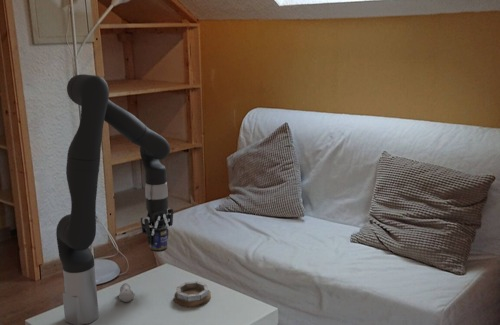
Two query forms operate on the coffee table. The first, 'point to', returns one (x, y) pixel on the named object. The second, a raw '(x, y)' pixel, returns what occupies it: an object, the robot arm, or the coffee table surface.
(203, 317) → the coffee table surface
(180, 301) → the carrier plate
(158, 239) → the pill bottle
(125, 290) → the white head bust
